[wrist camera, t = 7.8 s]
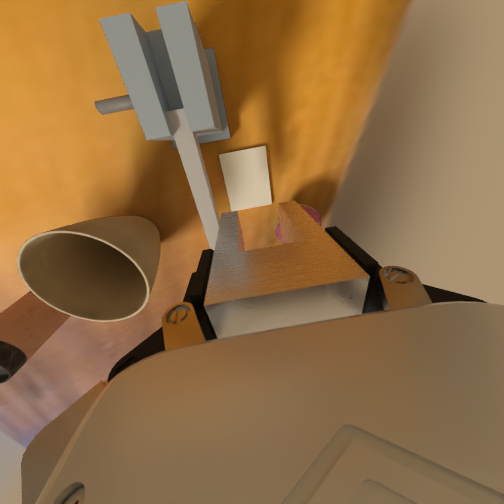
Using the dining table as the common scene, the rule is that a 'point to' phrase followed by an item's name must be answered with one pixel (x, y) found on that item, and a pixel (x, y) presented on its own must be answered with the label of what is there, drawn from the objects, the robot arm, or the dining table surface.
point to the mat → (246, 178)
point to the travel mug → (25, 331)
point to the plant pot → (93, 267)
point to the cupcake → (309, 210)
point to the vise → (171, 93)
